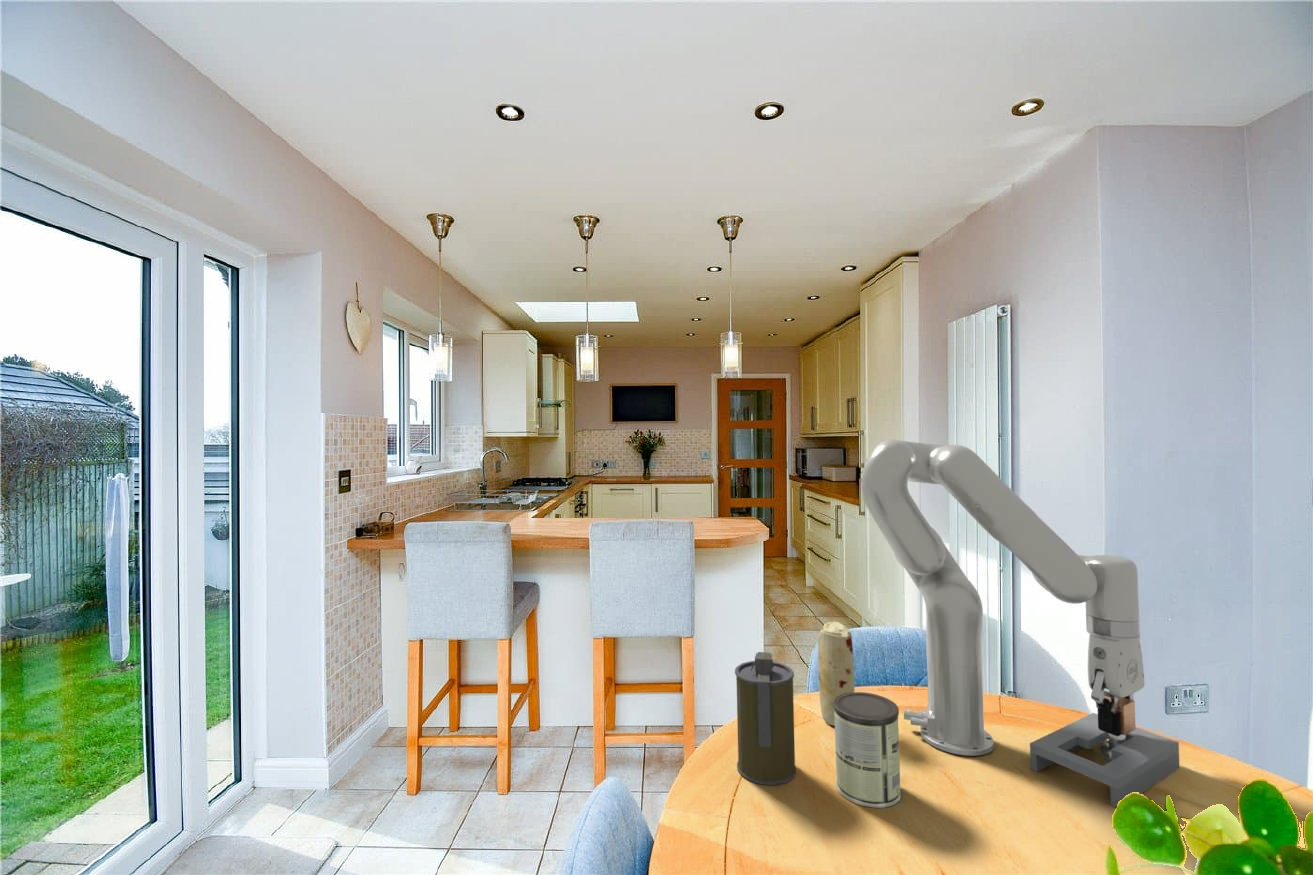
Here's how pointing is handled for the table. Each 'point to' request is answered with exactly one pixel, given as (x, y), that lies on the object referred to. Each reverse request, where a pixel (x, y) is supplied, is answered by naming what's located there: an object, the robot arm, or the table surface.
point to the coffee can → (867, 749)
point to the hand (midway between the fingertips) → (1116, 728)
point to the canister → (765, 721)
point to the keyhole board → (1133, 759)
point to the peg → (1126, 723)
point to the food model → (834, 666)
